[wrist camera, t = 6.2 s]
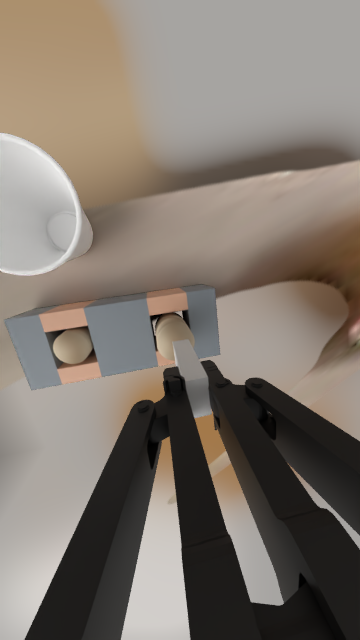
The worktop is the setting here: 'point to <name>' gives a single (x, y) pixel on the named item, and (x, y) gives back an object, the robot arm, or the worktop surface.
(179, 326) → the peg
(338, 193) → the worktop surface
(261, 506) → the robot arm
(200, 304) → the block
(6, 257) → the cup
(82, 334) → the peg
